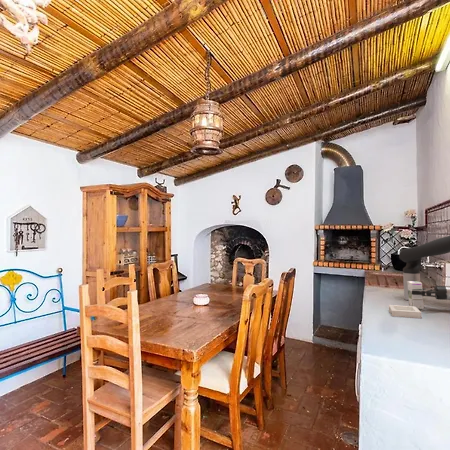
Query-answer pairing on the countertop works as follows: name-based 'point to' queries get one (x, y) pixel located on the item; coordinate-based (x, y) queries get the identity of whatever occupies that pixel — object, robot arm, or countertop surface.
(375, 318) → the countertop surface
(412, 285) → the syrup box
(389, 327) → the countertop surface
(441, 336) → the countertop surface
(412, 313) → the square stand
